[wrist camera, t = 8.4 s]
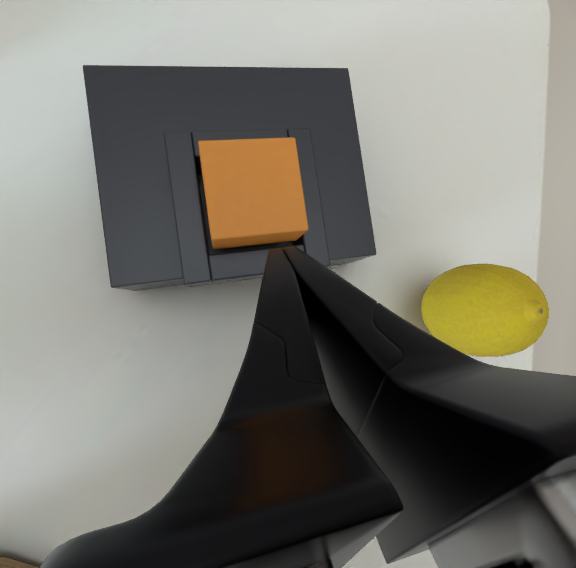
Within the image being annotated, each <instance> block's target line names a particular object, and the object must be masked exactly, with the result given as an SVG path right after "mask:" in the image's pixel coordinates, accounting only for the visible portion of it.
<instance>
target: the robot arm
mask: <svg viewBox="0 0 576 568" xmlns="http://www.w3.org/2000/svg"><path fill="white" fill-rule="evenodd" d="M375 536H376V538H377V540H378V543H379V545H380V548H381V550H382V553H383V555H384V558H385V560H386V563H387V564H389V563H392V562H395V561H397V560H400V559H403V558H406V557H409V556H411V555H414V554H417V553H420V552H423V551H426V550H428V549H430V551H431V553H432V555H433V558H434V560H435V562H436V564H437V566H438V568H576V376H569V375H560V374H552V373H544V372H535V371H527V370H519V369H511V368H503V367H497V366H493V365H489V364H486V363H483V362H480V361H478V360H475V359H473V358H471V357H469V356H467V355H465V354H463V353H462V352H460V351H458V350H456V349H455V348H453V347H451V346H449V345H447V344H446V343H444V342H442V341H440V340H439V339H437V338H435V337H433V336H431V335H430V334H428V333H426V332H424V331H423V330H421V329H419V328H418V327H416V326H414V325H412V324H411V323H409V322H407V321H406V320H404V319H402V318H401V317H399V316H398V315H396V314H395V313H393V312H392V311H390V310H389V309H387V308H386V307H384V306H383V305H381V304H380V303H377V302H376V301H375V300H374V299H372V298H371V297H369V296H368V295H366V294H365V293H363V292H362V291H361V290H359V289H358V288H356V287H355V286H353V285H352V284H350V283H349V282H347V281H346V280H344V279H343V278H341V277H340V276H339V275H337V274H336V273H334V272H333V271H331V270H330V269H328V268H327V267H325V266H324V265H322V264H321V263H319V262H318V261H317V260H315V259H314V258H312V257H311V256H309V255H308V254H306V253H305V252H303V251H302V250H300V249H299V248H297V247H286V248H283V249H281V248H277V249H270V250H269V251H268V255H267V259H266V264H265V269H264V274H263V279H262V284H261V289H260V294H259V299H258V304H257V309H256V314H255V319H254V324H253V328H252V333H251V337H250V341H249V345H248V349H247V352H246V355H245V358H244V361H243V363H242V366H241V369H240V371H239V374H238V377H237V379H236V382H235V384H234V387H233V389H232V392H231V394H230V397H229V400H228V402H227V405H226V407H225V410H224V412H223V414H222V416H221V419H220V421H219V423H218V425H217V427H216V428H215V430H214V432H213V433H212V435H211V436H210V438H209V439H208V440H207V442H206V443H205V444H204V446H203V447H202V448H201V450H200V451H199V452H198V454H197V455H196V456H195V458H194V459H193V460H192V462H191V463H190V464H189V466H188V467H187V468H186V470H185V471H184V472H183V474H182V475H181V476H180V478H179V479H178V480H177V482H176V483H175V484H174V486H173V487H172V488H171V490H170V491H169V492H168V493H167V495H166V496H165V497H164V498H163V499H162V500H161V501H160V502H159V503H158V504H156V505H155V506H154V507H153V508H151V509H150V510H149V511H147V512H145V513H144V514H142V515H140V516H139V517H137V518H134V519H132V520H129V521H127V522H124V523H121V524H117V525H113V526H110V527H106V528H102V529H99V530H95V531H92V532H89V533H86V534H83V535H80V536H78V537H76V538H73V539H71V540H69V541H67V542H65V543H64V544H62V545H60V546H59V547H57V548H56V549H55V550H54V551H53V552H52V553H50V554H49V556H48V557H47V558H46V559H45V561H44V562H43V564H42V565H41V567H40V568H341V567H343V566H344V565H345V564H346V563H347V562H348V561H349V560H350V559H351V558H352V557H353V556H354V555H356V554H357V553H358V552H359V551H360V550H361V549H362V548H363V547H364V546H365V545H366V544H367V543H369V542H370V541H371V540H372V539H373V538H374V537H375Z"/></svg>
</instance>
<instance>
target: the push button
mask: <svg viewBox="0 0 576 568" xmlns="http://www.w3.org/2000/svg"><path fill="white" fill-rule="evenodd" d="M83 72H84V80H85V87H86V95H87V103H88V111H89V119H90V127H91V135H92V142H93V150H94V158H95V166H96V174H97V182H98V190H99V197H100V205H101V213H102V221H103V229H104V237H105V245H106V252H107V260H108V268H109V276H110V284H111V287H112V288H120V289H127V290H143V289H151V288H158V287H166V286H174V285H182V284H185V285H187V286H189V287H192V286H199V285H207V284H212V283H222V282H230V281H237V280H245V279H253V278H260V277H263V274H264V269H265V264H266V259H267V255H268V251H269V250H270V249H277V248H281V249H283V248H286V247H297V248H299V249H300V250H302V251H303V252H305V253H306V254H308V255H309V256H311V257H312V258H314V259H315V260H317V261H318V262H319V263H321V264H322V265H324V266H325V267H328V266H330V265H338V264H345V263H351V262H354V261H357V260H360V259H363V258H367V257H370V256H373V255H376V249H375V242H374V236H373V229H372V223H371V216H370V209H369V203H368V196H367V190H366V183H365V177H364V170H363V163H362V157H361V150H360V144H359V137H358V131H357V124H356V117H355V111H354V104H353V98H352V91H351V85H350V78H349V71H348V69H347V68H268V67H183V66H99V65H83ZM289 137H294V138H295V140H296V147H297V153H298V160H299V167H300V174H301V181H302V188H303V194H304V201H305V208H306V215H307V222H308V231H307V232H305V233H304V234H303V235H302V236H301V237H300V238H298V239H297V240H296V241H290V242H281V243H271V244H262V245H253V246H244V247H234V248H225V249H216V250H215V249H213V246H212V241H211V235H210V227H209V220H208V213H207V205H206V198H205V191H204V184H203V176H202V169H201V162H200V154H199V147H198V141H207V140H234V139H262V138H289Z"/></svg>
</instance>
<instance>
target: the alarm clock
mask: <svg viewBox="0 0 576 568" xmlns="http://www.w3.org/2000/svg"><path fill="white" fill-rule="evenodd" d="M0 568H39V567H36V566H32V565H29V564H26V563H23V562H19V561H16V560H13V559H10V558H6V557H0Z"/></svg>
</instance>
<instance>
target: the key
mask: <svg viewBox="0 0 576 568" xmlns="http://www.w3.org/2000/svg"><path fill="white" fill-rule="evenodd" d="M198 147H199V154H200V162H201V169H202V176H203V184H204V191H205V198H206V205H207V213H208V220H209V227H210V235H211V241H212V246H213V249H215V250H216V249H225V248H234V247H244V246H253V245H262V244H271V243H281V242H290V241H296V240H297V239H298V238H300V237H301V236H302V235H303V234H304V233H305V232H307V231H308V222H307V215H306V208H305V201H304V194H303V188H302V181H301V174H300V167H299V160H298V153H297V147H296V140H295V138H294V137H289V138H262V139H234V140H207V141H198Z"/></svg>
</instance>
